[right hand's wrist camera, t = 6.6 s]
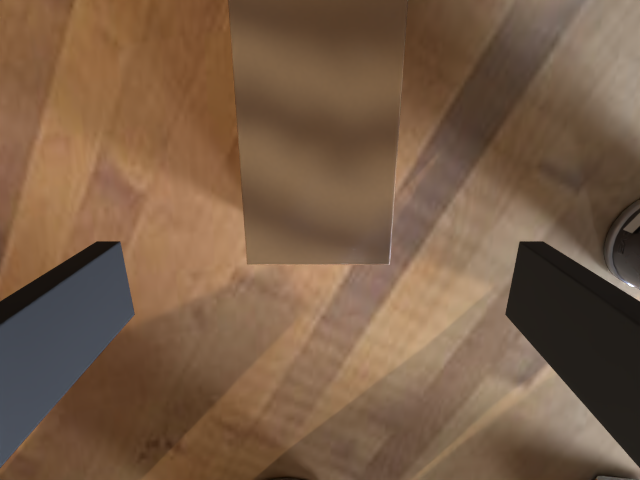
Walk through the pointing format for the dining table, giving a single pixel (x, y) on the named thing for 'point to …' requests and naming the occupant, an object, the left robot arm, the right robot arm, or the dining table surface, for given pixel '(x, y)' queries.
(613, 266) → the left robot arm
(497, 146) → the dining table surface
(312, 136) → the cabinet
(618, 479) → the hard drive box
